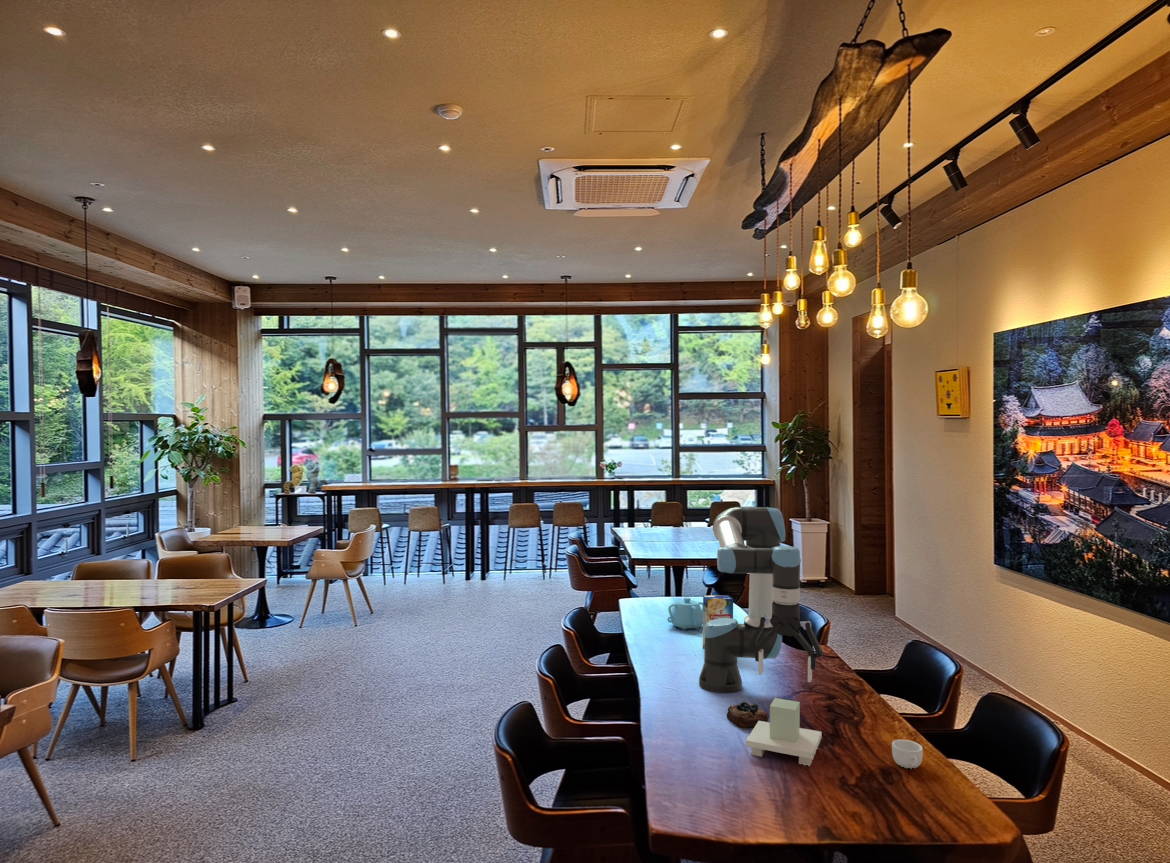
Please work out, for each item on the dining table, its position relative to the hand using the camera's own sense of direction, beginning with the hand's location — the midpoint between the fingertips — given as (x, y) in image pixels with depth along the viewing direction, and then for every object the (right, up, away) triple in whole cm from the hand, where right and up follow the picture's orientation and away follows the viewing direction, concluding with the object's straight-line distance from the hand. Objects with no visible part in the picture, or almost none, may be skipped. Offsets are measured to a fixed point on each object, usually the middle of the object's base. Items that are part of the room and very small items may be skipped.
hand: (784, 676), depth 208 cm
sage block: (0, -17, 0) cm, 17 cm away
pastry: (-6, -22, +22) cm, 31 cm away
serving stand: (0, -21, 0) cm, 21 cm away
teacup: (+31, -22, -9) cm, 39 cm away
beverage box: (-1, -22, +99) cm, 101 cm away
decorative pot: (-9, -22, +136) cm, 138 cm away
